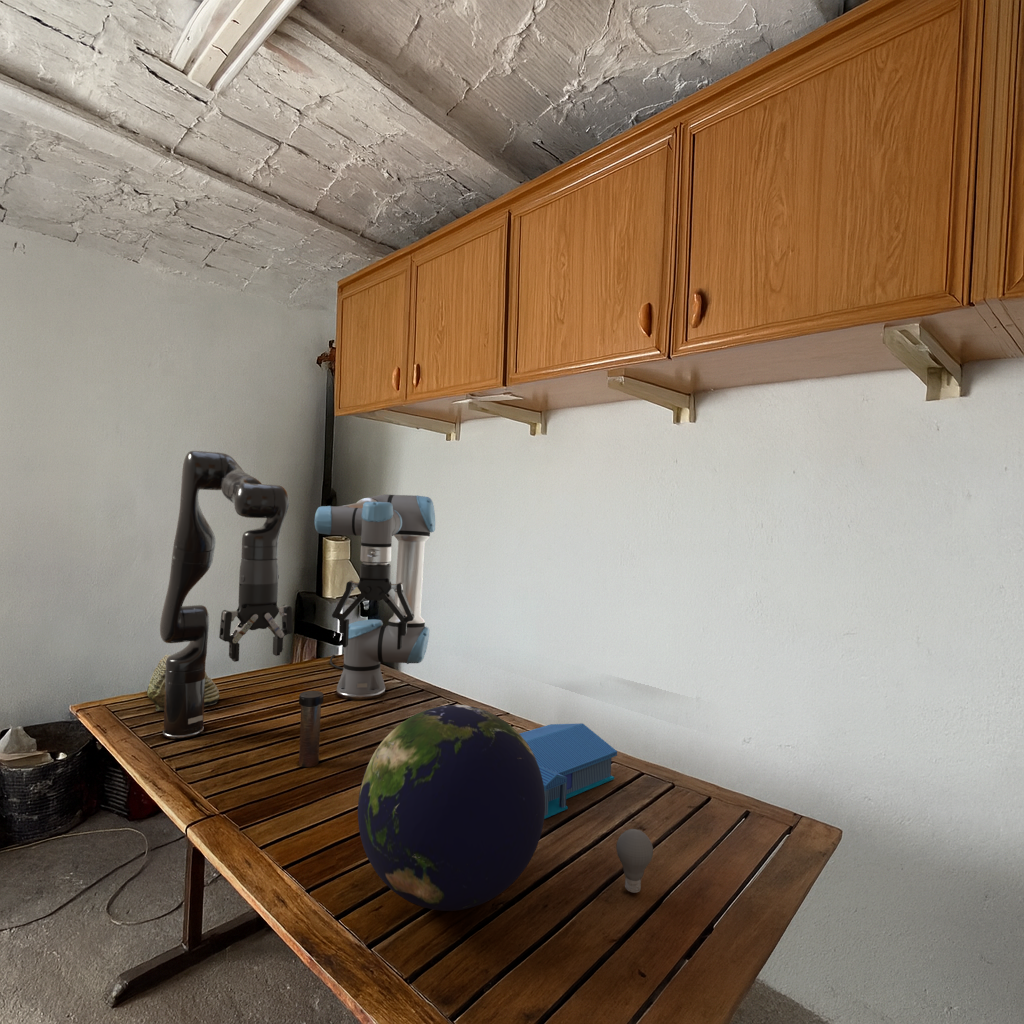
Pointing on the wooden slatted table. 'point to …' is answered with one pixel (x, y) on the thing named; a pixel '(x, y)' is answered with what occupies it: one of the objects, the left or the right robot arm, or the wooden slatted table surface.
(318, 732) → the jar
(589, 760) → the model building
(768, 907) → the wooden slatted table surface
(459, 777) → the globe
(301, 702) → the lid
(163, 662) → the fossil
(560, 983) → the wooden slatted table surface
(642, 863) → the light bulb
